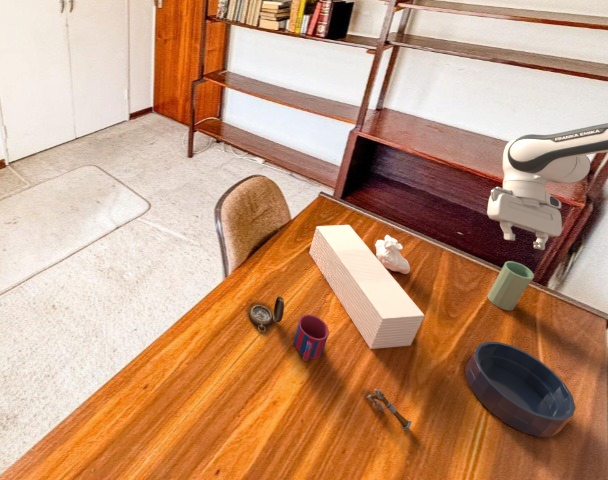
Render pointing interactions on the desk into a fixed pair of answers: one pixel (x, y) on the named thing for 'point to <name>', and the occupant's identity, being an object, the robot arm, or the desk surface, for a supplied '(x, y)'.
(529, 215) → the robot arm
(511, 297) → the green cup
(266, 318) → the compass
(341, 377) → the desk surface
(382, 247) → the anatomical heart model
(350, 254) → the stack of papers
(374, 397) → the brown grey jointed rod
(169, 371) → the desk surface
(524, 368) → the wash bowl
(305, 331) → the mug
